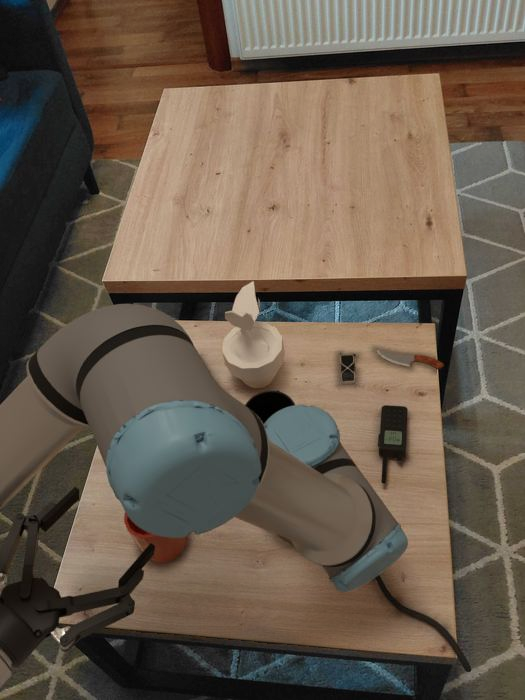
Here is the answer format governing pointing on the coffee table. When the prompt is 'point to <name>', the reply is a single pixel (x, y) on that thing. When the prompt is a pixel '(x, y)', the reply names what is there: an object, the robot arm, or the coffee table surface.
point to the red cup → (156, 542)
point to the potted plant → (251, 342)
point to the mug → (268, 403)
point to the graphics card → (348, 368)
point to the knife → (410, 359)
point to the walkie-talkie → (392, 435)
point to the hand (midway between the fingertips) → (114, 520)
